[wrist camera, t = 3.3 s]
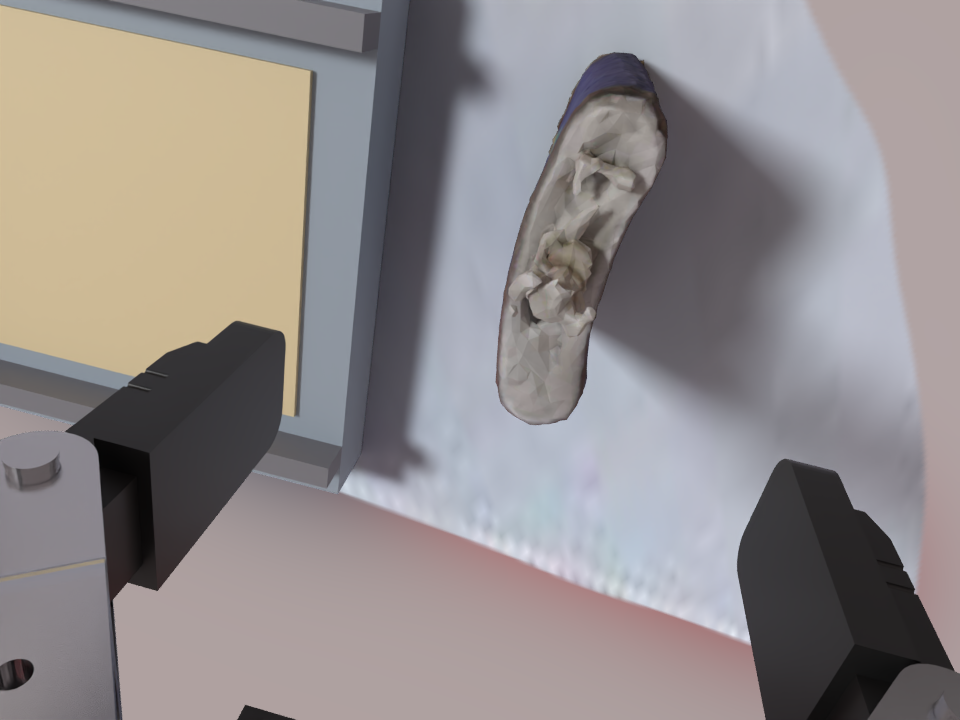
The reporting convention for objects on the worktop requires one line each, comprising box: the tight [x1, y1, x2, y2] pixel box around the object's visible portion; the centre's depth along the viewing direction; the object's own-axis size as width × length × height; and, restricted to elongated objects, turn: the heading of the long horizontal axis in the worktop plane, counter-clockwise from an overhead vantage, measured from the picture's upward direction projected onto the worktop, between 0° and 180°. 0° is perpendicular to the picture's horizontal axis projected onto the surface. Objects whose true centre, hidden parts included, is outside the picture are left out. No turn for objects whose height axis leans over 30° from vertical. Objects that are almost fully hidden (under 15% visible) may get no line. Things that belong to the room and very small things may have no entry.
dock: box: [0, 0, 410, 494], centre depth 26 cm, size 20×18×4 cm
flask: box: [496, 52, 668, 425], centre depth 21 cm, size 9×3×11 cm, turn 168°
